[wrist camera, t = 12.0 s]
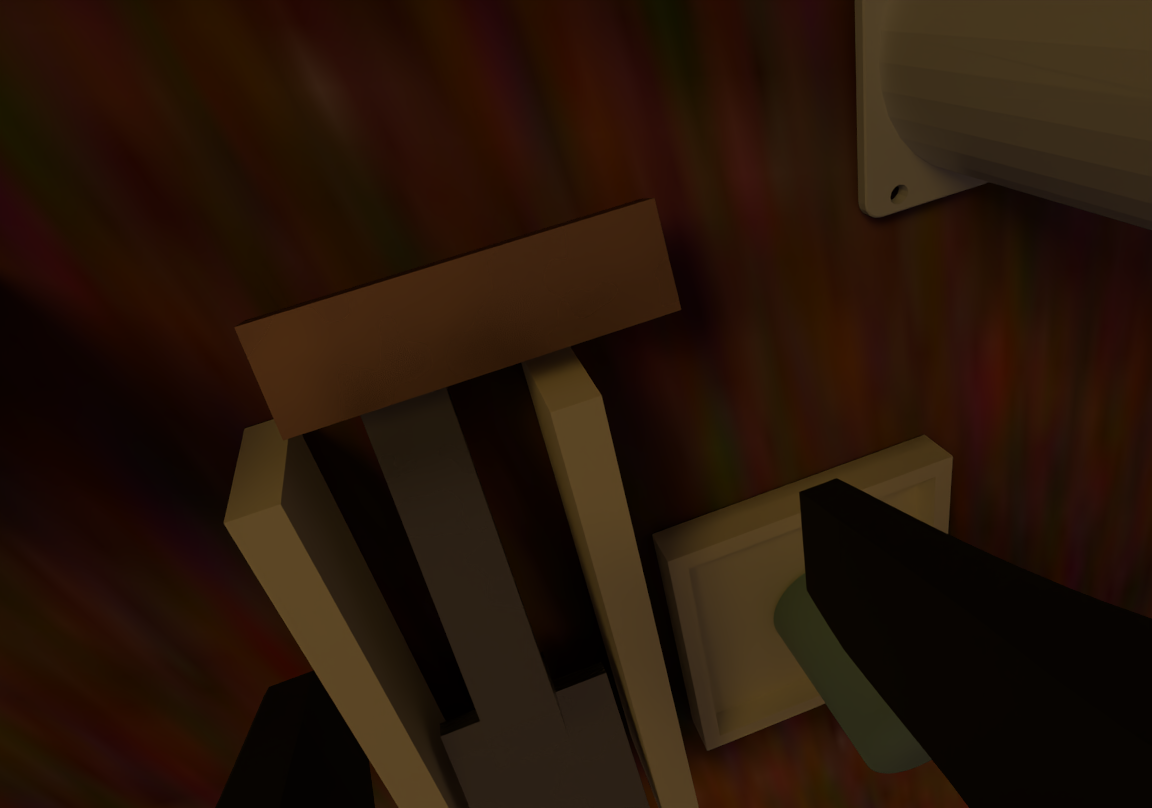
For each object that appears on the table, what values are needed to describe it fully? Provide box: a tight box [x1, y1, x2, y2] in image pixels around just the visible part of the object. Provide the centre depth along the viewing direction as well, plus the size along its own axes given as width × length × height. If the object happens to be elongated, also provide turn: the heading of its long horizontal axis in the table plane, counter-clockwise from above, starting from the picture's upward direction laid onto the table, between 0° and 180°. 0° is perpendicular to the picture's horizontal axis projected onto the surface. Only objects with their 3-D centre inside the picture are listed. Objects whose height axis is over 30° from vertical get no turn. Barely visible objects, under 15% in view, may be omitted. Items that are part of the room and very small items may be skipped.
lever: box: [234, 198, 681, 808], centre depth 20 cm, size 9×19×4 cm, turn 14°
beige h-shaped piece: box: [224, 346, 699, 808], centre depth 22 cm, size 8×18×4 cm, turn 14°
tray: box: [652, 435, 953, 751], centre depth 27 cm, size 10×10×1 cm
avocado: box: [774, 573, 932, 773], centre depth 25 cm, size 4×4×6 cm
